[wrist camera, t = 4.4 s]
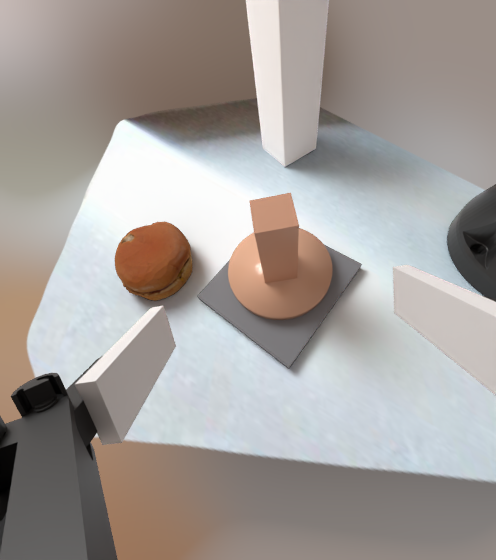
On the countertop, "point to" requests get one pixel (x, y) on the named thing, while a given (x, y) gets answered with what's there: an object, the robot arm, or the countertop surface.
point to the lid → (279, 263)
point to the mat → (279, 333)
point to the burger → (154, 261)
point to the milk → (288, 72)
